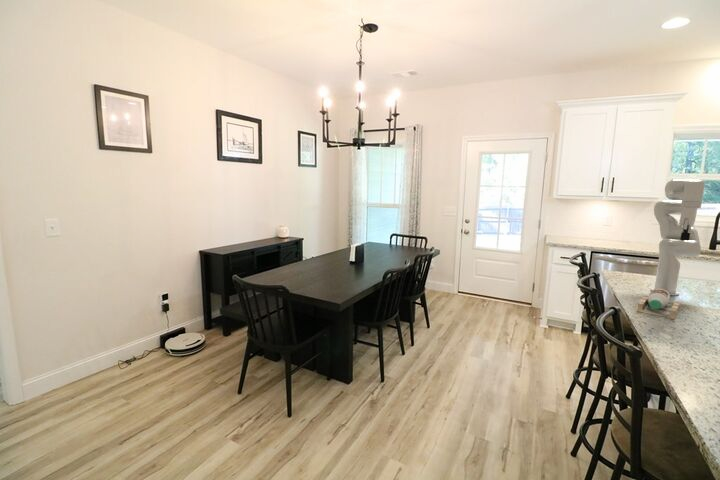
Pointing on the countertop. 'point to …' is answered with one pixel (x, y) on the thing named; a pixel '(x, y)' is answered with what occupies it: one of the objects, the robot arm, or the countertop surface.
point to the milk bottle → (658, 298)
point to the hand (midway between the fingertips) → (684, 240)
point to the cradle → (664, 312)
